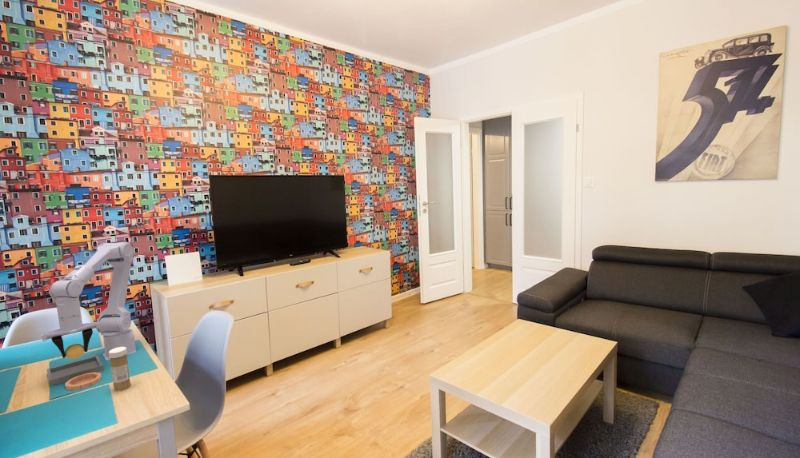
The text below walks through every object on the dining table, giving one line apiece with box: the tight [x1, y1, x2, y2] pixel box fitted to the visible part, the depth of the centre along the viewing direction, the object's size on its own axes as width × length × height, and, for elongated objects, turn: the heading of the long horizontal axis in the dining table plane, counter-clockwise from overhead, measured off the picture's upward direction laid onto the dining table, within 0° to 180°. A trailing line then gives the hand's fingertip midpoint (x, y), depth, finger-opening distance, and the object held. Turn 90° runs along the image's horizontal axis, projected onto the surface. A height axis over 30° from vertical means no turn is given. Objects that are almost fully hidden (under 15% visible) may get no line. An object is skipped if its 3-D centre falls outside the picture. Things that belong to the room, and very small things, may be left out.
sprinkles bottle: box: [109, 347, 132, 393], centre depth 118 cm, size 5×5×14 cm
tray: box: [46, 355, 105, 387], centre depth 130 cm, size 14×12×2 cm
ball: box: [64, 343, 85, 360], centre depth 125 cm, size 5×5×5 cm
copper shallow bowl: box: [64, 372, 103, 391], centre depth 123 cm, size 9×9×2 cm
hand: (75, 354), depth 126 cm, fingers closed on ball, 5 cm apart
